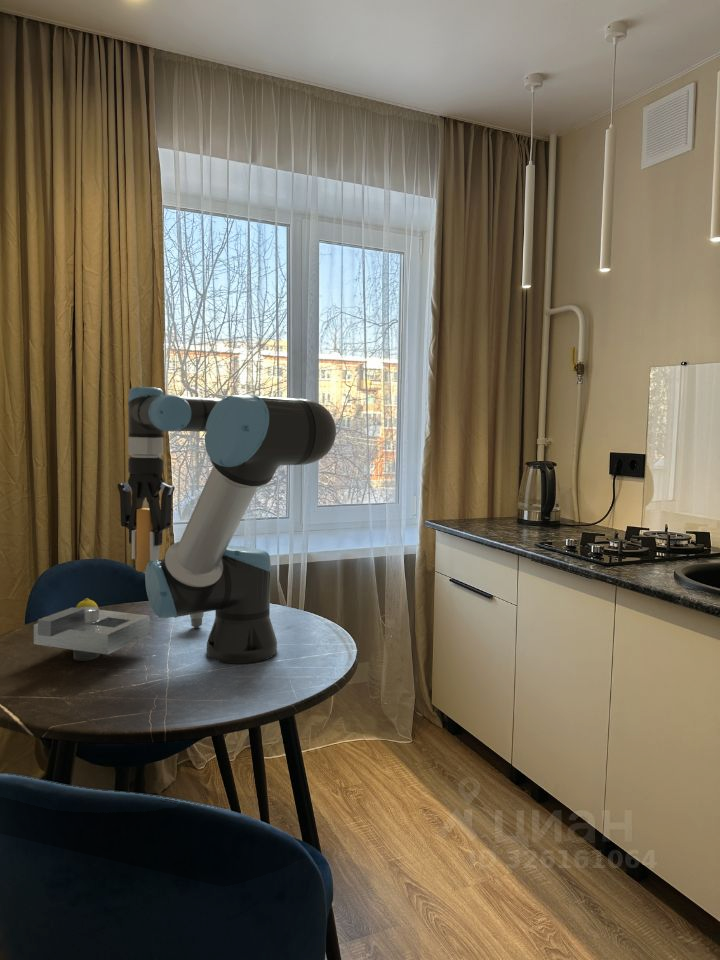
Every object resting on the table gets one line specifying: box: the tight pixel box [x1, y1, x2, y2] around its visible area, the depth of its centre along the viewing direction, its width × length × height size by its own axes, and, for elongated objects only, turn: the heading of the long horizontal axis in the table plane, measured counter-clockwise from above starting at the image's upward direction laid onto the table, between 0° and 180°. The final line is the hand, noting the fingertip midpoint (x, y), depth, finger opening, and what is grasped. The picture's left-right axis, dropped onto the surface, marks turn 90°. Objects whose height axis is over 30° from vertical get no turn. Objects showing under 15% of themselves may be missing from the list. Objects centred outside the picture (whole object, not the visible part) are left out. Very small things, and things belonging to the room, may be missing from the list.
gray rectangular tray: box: [33, 607, 151, 662], centre depth 135 cm, size 18×19×11 cm
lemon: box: [75, 597, 99, 608], centre depth 154 cm, size 6×6×8 cm
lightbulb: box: [189, 612, 205, 629], centre depth 160 cm, size 6×6×11 cm
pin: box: [135, 507, 153, 573], centre depth 150 cm, size 4×4×14 cm
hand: (145, 558), depth 150 cm, fingers closed on pin, 4 cm apart
